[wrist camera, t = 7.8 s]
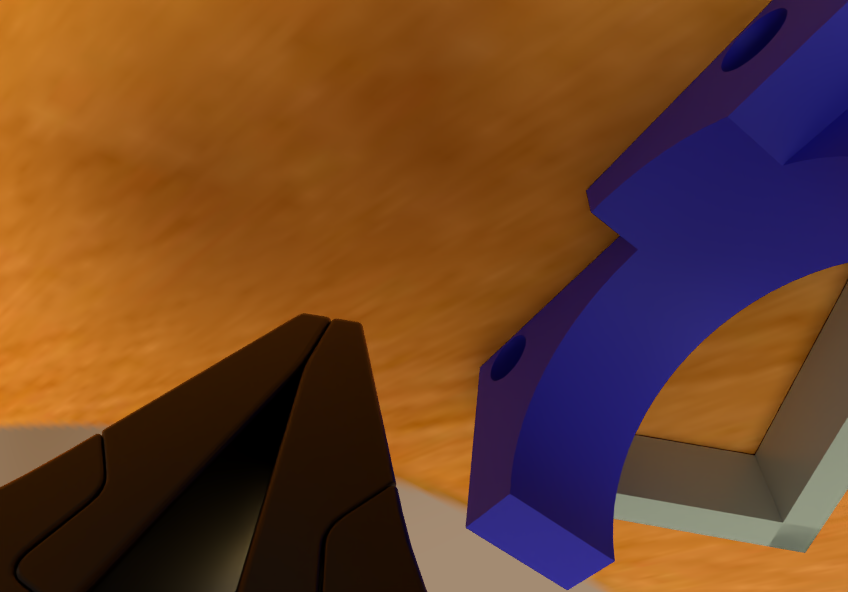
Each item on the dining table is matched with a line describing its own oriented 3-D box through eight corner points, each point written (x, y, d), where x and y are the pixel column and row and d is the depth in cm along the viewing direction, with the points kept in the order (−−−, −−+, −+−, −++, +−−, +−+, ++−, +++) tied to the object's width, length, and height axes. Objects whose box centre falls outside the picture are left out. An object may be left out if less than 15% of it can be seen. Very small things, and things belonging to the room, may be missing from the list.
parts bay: (1214, -278, 11) (1389, -324, 8) (775, 484, 20) (805, 552, 18) (658, -340, 11) (690, -397, 9) (487, 434, 21) (483, 495, 18)
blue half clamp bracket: (793, -26, 13) (962, 19, 8) (930, 112, 14) (1157, 227, 9) (440, 336, 19) (411, 494, 14) (555, 415, 20) (567, 590, 15)
